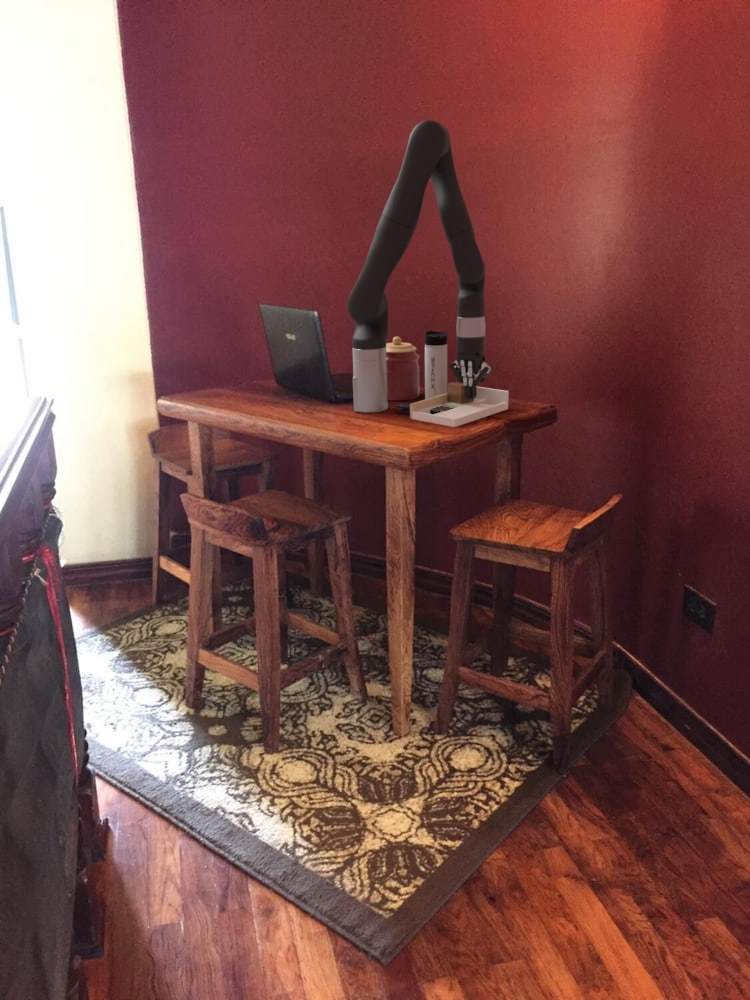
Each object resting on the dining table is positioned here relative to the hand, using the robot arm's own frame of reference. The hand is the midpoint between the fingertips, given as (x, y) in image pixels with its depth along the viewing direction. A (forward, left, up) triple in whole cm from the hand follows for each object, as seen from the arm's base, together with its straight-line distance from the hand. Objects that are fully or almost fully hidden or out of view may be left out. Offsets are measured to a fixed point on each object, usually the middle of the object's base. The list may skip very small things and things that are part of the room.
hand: (470, 399), depth 209 cm
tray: (-3, -2, -4) cm, 5 cm away
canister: (-20, +21, -4) cm, 29 cm away
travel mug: (-9, +12, -4) cm, 16 cm away
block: (-2, +5, -2) cm, 5 cm away
